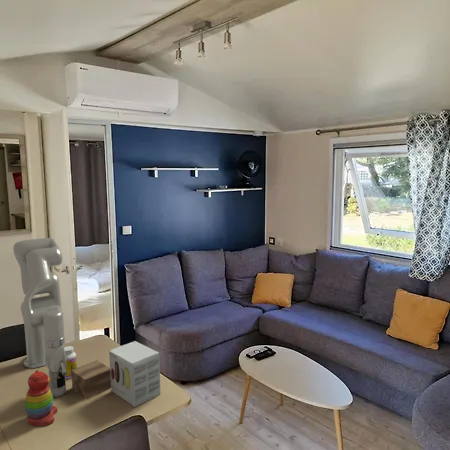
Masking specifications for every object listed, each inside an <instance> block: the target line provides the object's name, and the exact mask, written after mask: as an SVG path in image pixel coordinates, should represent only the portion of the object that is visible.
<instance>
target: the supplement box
mask: <svg viewBox="0 0 450 450" xmlns="http://www.w3.org/2000/svg"><path fill="white" fill-rule="evenodd" d="M108 353H109V354H108V355H109V368H110V376H111V388H110V391H111V392H112V393H114V394H115V395H117V396H118V397H120V398H121V399H122V400H124V401H125V402H127V403H128V404H130V405H131V406H133V408H136V407H137V406H139V405H141V404H143V403H146V402H148V401H149V400H152V399H154V398H156V397H157V396H160V395H161V393H162V392H161V369H160V368H161V365H160V352H159V351H157V350H155V349H153V348H152V347H150V346H147V345H145V344H142V343H140V342H138V341H136V340H134V341H132V342H131V341H130V342H129V343H126V344H122V345H120V346H117V347H115V348H113V349H110V350H108Z"/></svg>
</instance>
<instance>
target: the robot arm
mask: <svg viewBox="0 0 450 450" xmlns="http://www.w3.org/2000/svg"><path fill="white" fill-rule="evenodd" d="M12 248H13V249H12V250H13V255H14V257H15V259H16V262H17V263H18V266H19V269H20V279H21V286H22V292H23V294H24V295H25V296H24V298H23V301H22V303H21V305H20V311H21V312H20V313H21V316H22V320H23V324H24V325H23V326H24V335H25V337H24V338H25V348H26V359H24V361H23V366H24V367H26V368H29V369H31V368H32V369H36V368H41V367H46V368H47V369H48V370H49V368H48V365H50V367H51V371H52V372H54V373H57V387H58V388H60V387H62V386H65V381H66V379H65V374H66V357H65V350H64V347H65V344H66V341H65V338H66V337H65V326H64V325H65V323H64V310H63V308H62V300H61V299H62V298H61V288H60V280H59V277H58V275H57V274H56V273H54V272H51V267H55V266H56V267H57V266H60V265H61V264H62V263H63V253H62V251H61V249H60V247H59V245H58V244H57V242H56V241H55V239H54V238H51V237H44V238H43V237H42V238H33V239H26V240H25V239H24V240H19V241H17V242H15V243H14V245H13V247H12ZM43 294H48V295H44V296H43ZM37 295H42V296H37ZM34 296H36V297H34ZM59 368H61V370H59ZM60 371H62V372H61V373H60V375H59V372H60Z"/></svg>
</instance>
